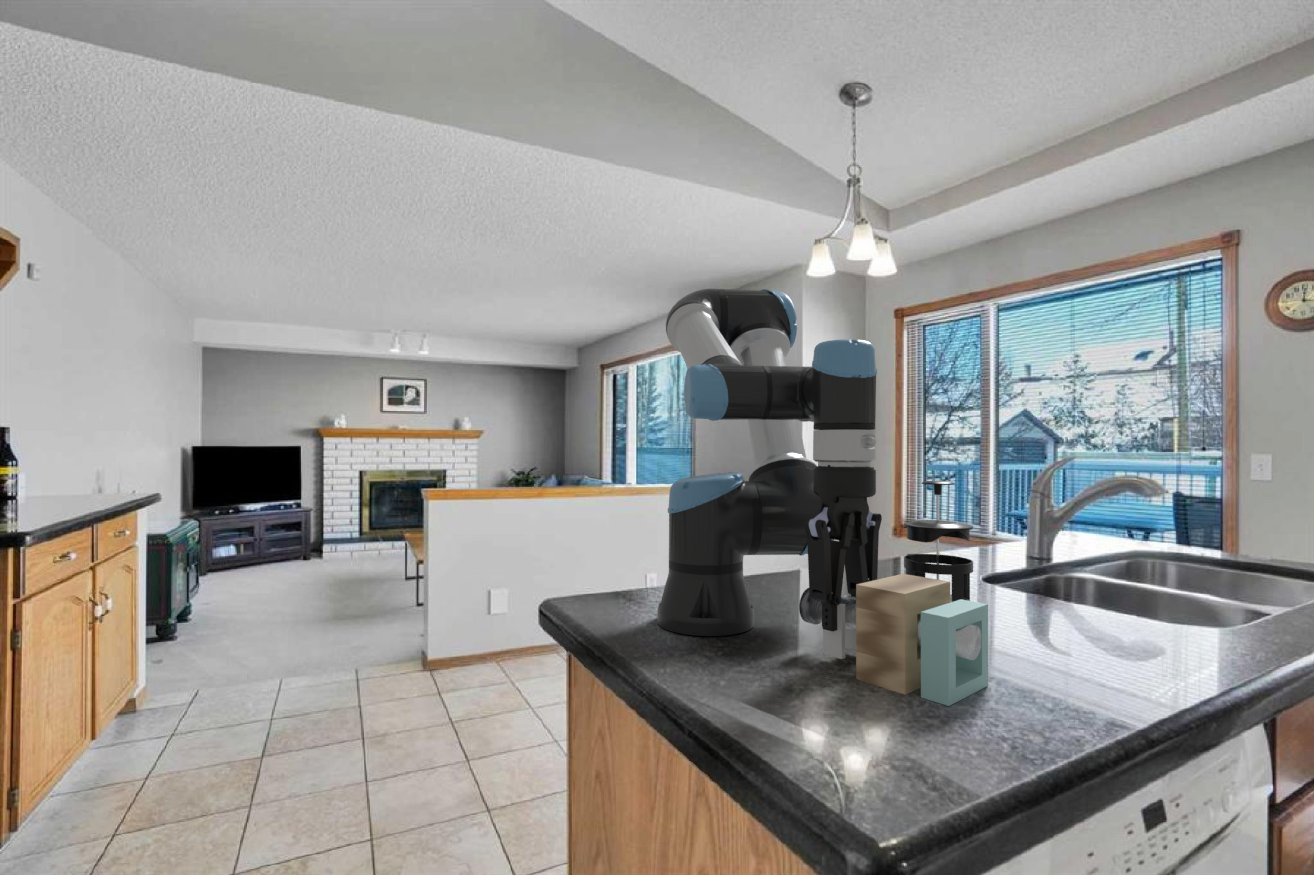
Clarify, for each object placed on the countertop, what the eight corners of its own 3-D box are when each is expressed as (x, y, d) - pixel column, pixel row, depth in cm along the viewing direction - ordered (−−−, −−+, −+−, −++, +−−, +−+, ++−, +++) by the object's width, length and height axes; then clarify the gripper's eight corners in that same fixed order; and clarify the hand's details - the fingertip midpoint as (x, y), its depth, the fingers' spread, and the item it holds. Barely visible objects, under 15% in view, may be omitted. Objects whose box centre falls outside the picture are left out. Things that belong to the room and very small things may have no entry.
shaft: (799, 625, 84) (799, 589, 84) (821, 619, 87) (821, 584, 87) (963, 669, 68) (963, 624, 68) (983, 660, 70) (983, 617, 71)
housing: (856, 690, 74) (856, 584, 74) (902, 670, 81) (902, 573, 81) (905, 706, 70) (905, 593, 70) (950, 684, 76) (950, 581, 76)
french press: (994, 654, 87) (993, 482, 87) (930, 659, 85) (930, 483, 85) (939, 630, 99) (939, 478, 99) (883, 633, 97) (882, 478, 97)
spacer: (920, 697, 69) (920, 611, 69) (961, 678, 75) (961, 599, 75) (948, 706, 66) (948, 617, 67) (988, 685, 72) (987, 604, 72)
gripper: (829, 466, 73) (829, 675, 73) (907, 464, 84) (907, 646, 84) (777, 465, 79) (777, 658, 79) (856, 462, 90) (856, 633, 90)
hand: (844, 651), depth 81 cm, fingers closed on shaft, 4 cm apart
